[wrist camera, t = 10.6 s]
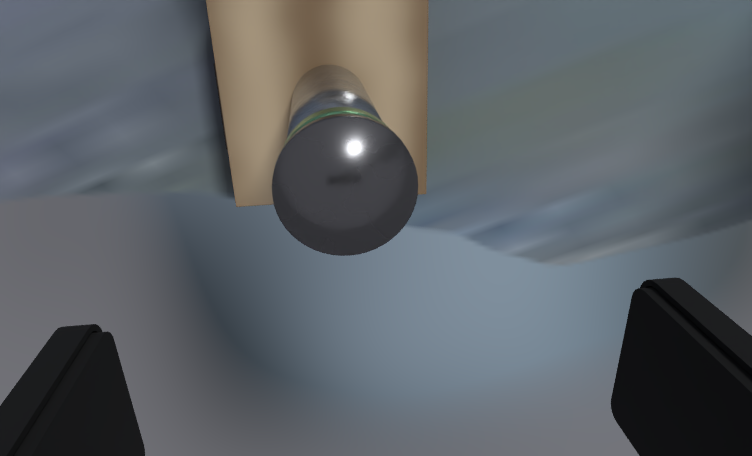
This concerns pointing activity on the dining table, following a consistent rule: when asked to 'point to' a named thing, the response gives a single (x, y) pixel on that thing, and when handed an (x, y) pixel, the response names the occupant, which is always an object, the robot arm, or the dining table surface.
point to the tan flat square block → (304, 52)
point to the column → (341, 168)
